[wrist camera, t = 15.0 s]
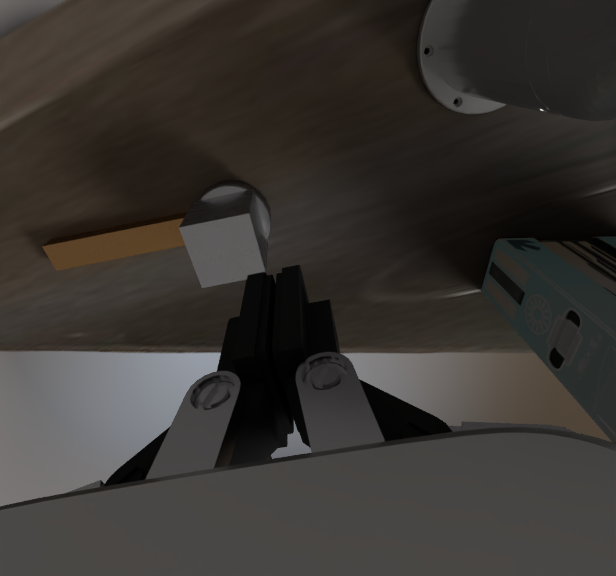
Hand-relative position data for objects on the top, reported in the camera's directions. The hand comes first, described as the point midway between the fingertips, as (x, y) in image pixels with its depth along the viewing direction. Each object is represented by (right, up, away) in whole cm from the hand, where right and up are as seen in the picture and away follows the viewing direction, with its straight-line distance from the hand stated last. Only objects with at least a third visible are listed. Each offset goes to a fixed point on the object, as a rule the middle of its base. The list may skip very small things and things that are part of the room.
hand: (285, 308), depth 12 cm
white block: (-7, +7, +28) cm, 30 cm away
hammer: (-16, +7, +31) cm, 35 cm away
